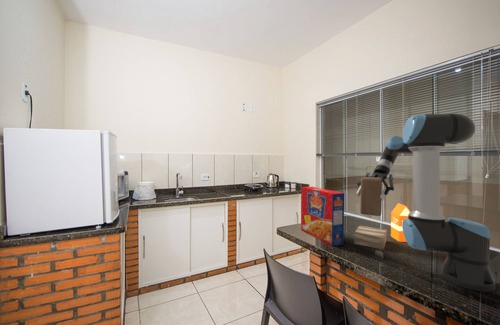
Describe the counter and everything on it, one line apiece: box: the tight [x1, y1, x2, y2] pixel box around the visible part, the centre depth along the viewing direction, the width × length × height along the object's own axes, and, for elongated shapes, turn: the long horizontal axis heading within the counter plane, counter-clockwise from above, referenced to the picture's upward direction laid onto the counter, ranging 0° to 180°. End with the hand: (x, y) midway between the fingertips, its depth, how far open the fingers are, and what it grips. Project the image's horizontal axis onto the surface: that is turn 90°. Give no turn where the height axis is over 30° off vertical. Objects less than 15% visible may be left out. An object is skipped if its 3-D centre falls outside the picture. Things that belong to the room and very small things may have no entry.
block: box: [359, 176, 383, 217], centre depth 127 cm, size 10×10×20 cm
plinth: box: [353, 225, 387, 250], centre depth 127 cm, size 16×14×6 cm
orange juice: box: [390, 202, 411, 243], centre depth 132 cm, size 8×9×20 cm
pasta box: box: [300, 186, 345, 247], centre depth 135 cm, size 28×8×28 cm, turn 22°
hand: (368, 197), depth 125 cm, fingers closed on block, 12 cm apart
